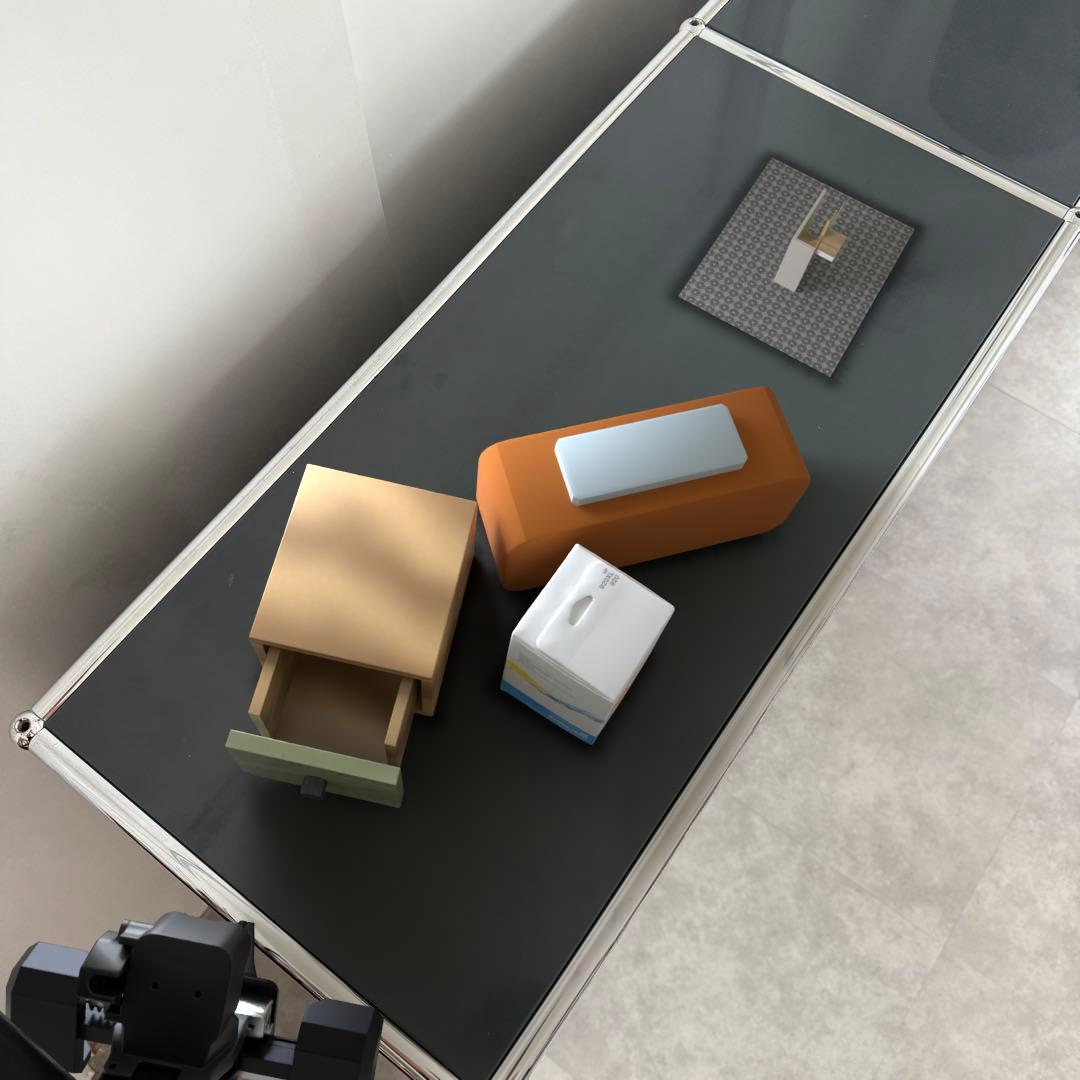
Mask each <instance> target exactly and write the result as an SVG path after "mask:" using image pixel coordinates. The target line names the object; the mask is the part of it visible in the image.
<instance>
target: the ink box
mask: <svg viewBox="0 0 1080 1080" xmlns="http://www.w3.org/2000/svg"><path fill="white" fill-rule="evenodd" d="M674 613H675V606H674V604H673V605H672V604H671V603H670V602H668V601H667V600H665V599H664V598H662V597H661V596H660V595H658V594H657V593H655V592H654V591H652V590H651V589H650V588H648V587H647V586H645V585H643V583H640V582H639V581H638V580H636V579H634V578H633V577H631V576H630V575H628V574H627V573H625V572H624V571H622V570H620V568H616V567H614V566H612V565H611V564H609V563H608V562H606V561H605V560H603V559H601V558H600V557H598V556H597V555H595V554H594V553H592V552H590V551H589V550H587V549H585V548H584V547H582V546H580V545H579V544H576V545H575V546H574V548H573V549H572V551H571V552H570V554H569V555H568V556H567V558H566V559H565V561H564V562H563V563H562V565H561V566H560V567H559V569H558V570H557V572H556V573H555V574H554V576H553V577H552V578H551V580H550V581H549V583H548V584H547V585H545V587H544V588H543V589H542V590H541V592H540V593H539V594H538V596H537V597H536V598H535V600H534V602H532V604H531V605H530V607H529V608H528V609H527V611H526V612H525V614H523V616H522V617H521V619H520V621H519V622H518V624H517V625H516V627H515V628H514V630H513V631H512V633H511V636H510V640H509V646H508V649H507V653H506V654H507V655H506V659H505V664H504V668H503V671H502V677H501V681H500V690H501V691H503V692H506V693H507V694H509V695H510V696H512V697H513V698H514V699H516V700H517V701H520V702H521V703H522V704H524V705H526V707H529V708H530V709H531V710H533V711H534V712H536V713H538V714H539V715H540V716H542V717H543V718H545V719H547V720H548V721H550V722H551V723H553V724H554V725H556V726H558V727H560V728H561V729H562V730H564V731H565V732H568V733H569V734H571V735H572V736H574V737H576V738H578V739H579V740H582V741H583V742H584V743H586V744H588V745H590V746H591V745H593V744H594V743H595V742H596V740H597V739H598V737H599V735H600V734H601V732H602V731H603V729H604V728H605V726H606V725H607V723H608V721H609V720H610V718H611V717H612V716H613V714H614V712H615V711H616V710H617V708H618V706H619V705H620V703H621V702H622V700H623V699H624V697H625V695H626V694H627V692H628V691H629V689H630V688H631V686H632V684H633V683H634V681H635V679H636V678H637V676H638V675H639V673H640V671H641V670H642V668H643V666H644V665H645V663H646V662H647V660H648V658H649V656H650V655H651V654H652V652H653V649H654V648H655V646H656V644H657V642H658V640H659V638H660V637H661V635H662V634H663V632H664V630H665V629H666V626H667V624H668V623H669V621H670V620H671V618H672V616H673V614H674Z"/></svg>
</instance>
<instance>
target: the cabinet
mask: <svg viewBox="0 0 1080 1080" xmlns="http://www.w3.org/2000/svg"><path fill="white" fill-rule="evenodd" d="M478 509H479V506H478V502H477V500H476V501H475V500H471V499H465V498H462V497H457V496H453V495H449V494H444V493H440V492H436V491H431V490H427V489H422V488H418V487H414V486H408V485H403V484H399V483H395V482H390V481H386V480H382V479H377V478H373V477H369V476H364V475H358V474H355V473H350V472H345V471H341V470H338V469H333V468H328V467H323V466H319V465H315V464H310V463H307V464H306V467H305V470H304V473H303V476H302V479H301V482H300V485H299V488H298V490H297V494H296V496H295V500H294V503H293V505H292V508H291V512H290V514H289V517H288V520H287V523H286V526H285V528H284V532H283V535H282V538H281V541H280V543H279V547H278V549H277V553H276V554H275V555H276V556H275V559H274V561H273V564H272V566H271V567H272V568H271V570H270V574H269V576H268V579H267V582H266V585H265V588H264V591H263V594H262V597H261V599H260V603H259V606H258V608H257V612H256V615H255V616H254V617H255V618H254V621H253V623H252V625H251V629H250V631H249V635H248V639H249V641H250V644H251V647H252V648H253V650H254V653H255V655H256V657H257V658H258V661H259V662H260V666H261V667H262V668H263V666H264V663H265V660H266V657H267V654H268V651H269V648H270V646H274V647H278V648H282V649H287V650H291V651H296V652H300V653H305V654H309V655H313V656H318V657H322V658H327V659H331V660H336V661H340V662H344V663H349V664H353V665H358V666H362V667H367V668H371V669H375V670H380V671H384V672H389V673H393V674H398V675H402V676H407V677H411V678H415V679H420V680H421V689H420V693H419V697H418V701H417V705H416V709H415V712H414V714H419V715H422V716H426V717H434V714H435V709H436V706H437V702H438V698H439V694H440V689H441V686H442V682H443V679H444V674H445V670H446V666H447V663H448V658H449V654H450V650H451V647H452V643H453V639H454V635H455V632H456V629H457V628H456V627H457V623H458V619H459V615H460V611H461V608H462V604H463V601H464V600H463V599H464V596H465V593H466V589H467V584H468V581H469V576H470V572H471V568H472V565H473V561H474V557H475V546H476V536H477V535H476V534H477V533H476V532H477V520H478Z"/></svg>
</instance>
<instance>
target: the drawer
mask: <svg viewBox="0 0 1080 1080" xmlns="http://www.w3.org/2000/svg"><path fill="white" fill-rule="evenodd" d="M420 689H421V680H420V679H415V678H411V677H407V676H402V675H398V674H393V673H389V672H384V671H380V670H375V669H371V668H367V667H362V666H358V665H353V664H349V663H344V662H340V661H336V660H331V659H327V658H322V657H318V656H313V655H309V654H305V653H300V652H296V651H291V650H287V649H282V648H278V647H274V646H270V648H269V651H268V654H267V657H266V660H265V663H264V666H263V667H262V670H261V672H260V675H259V678H258V681H257V684H256V688H255V691H254V693H253V696H252V699H251V703H250V706H249V708H248V712H247V714H248V716H249V718H250V719H251V721H252V723H253V724H254V726H255V728H256V729H257V731H258V733H259V735H257V734H253V733H248V732H245V731H239V730H234V729H230V730H229V734H228V736H227V740H226V742H225V746H224V747H225V749H226V750H227V752H228V753H229V754H230V755H231V757H232V758H233V759H234V761H235V763H236V764H237V765H238V767H239V768H240V769H241V771H242V772H243V773H244V774H247V775H251V776H257V777H261V778H265V779H269V780H274V781H278V782H283V783H287V784H290V785H291V784H292V785H296V786H300V787H301V788H300V791H299V794H300V795H301V796H303V797H305V798H308V799H313V800H319V801H321V800H323V799H324V797H325V793H332V794H336V795H340V796H345V797H348V798H353V799H358V800H362V801H366V802H371V803H375V804H379V805H383V806H384V805H385V806H389V807H394V808H397V809H400V808H401V805H402V803H403V797H404V793H405V791H404V784H403V777H402V776H403V775H402V770H401V767H402V766H401V765H402V762H403V758H404V755H405V750H406V746H407V742H408V739H409V735H410V731H411V727H412V725H413V720H414V715H415V713H414V712H415V709H416V705H417V701H418V697H419V693H420Z"/></svg>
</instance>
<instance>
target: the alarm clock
mask: <svg viewBox="0 0 1080 1080" xmlns="http://www.w3.org/2000/svg"><path fill="white" fill-rule="evenodd" d="M477 465H478V466H477V477H476V492H475V499H476V502H478V509H479V513H480V516H481V519H482V524H483V526H484V529H485V533H486V536H487V540H488V543H489V547H490V551H491V553H492V556H493V560H494V563H495V567H496V570H497V574H498V577H499V581H500V584H501V587H503V588H504V590H507V591H509V592H521V591H526V590H532V589H536V588H540V587H544V586H546V585H547V584H548V583H549V581H550V580H551V578H552V577H553V576H554V574H555V573H556V572H557V570H558V569H559V567H560V566H561V565H562V563H563V562H564V561H565V559H566V558H567V556H568V555H569V554H570V552H571V551H572V549H573V548H574V546H575V545H576V544H579V545H580V546H582V547H584V548H585V549H587V550H589V551H590V552H592V553H594V554H595V555H597V556H598V557H600V558H601V559H603V560H605V561H606V562H608V563H609V564H611V565H612V566H614V567H616V568H617V569H620V568H622V567H623V568H624V567H627V566H632V565H636V564H639V563H643V562H647V561H652V560H656V559H661V558H665V557H669V556H673V555H677V554H681V553H685V552H689V551H693V550H698V549H703V548H706V547H711V546H714V545H715V546H716V545H718V544H723V543H727V542H731V541H735V540H740V539H743V538H747V537H752V536H756V535H760V534H763V533H766V532H769V531H771V530H774V529H775V528H777V527H778V526H780V525H781V524H783V522H784V521H786V520H787V519H788V517H789V515H790V514H791V513H792V511H793V509H795V507H796V505H797V504H798V502H799V501H800V500H801V498H802V496H803V495H804V493H805V492H806V490H808V488H809V486H810V482H811V476H810V473H809V471H808V469H807V466H806V463H805V462H804V460H803V457H802V453H801V452H800V450H799V448H798V445H797V443H796V441H795V437H794V436H793V433H792V431H791V429H790V426H789V424H788V422H787V419H786V417H785V415H784V412H783V410H782V408H781V405H780V403H779V400H778V398H777V396H776V394H775V392H774V390H772V389H771V388H770V387H767V386H754V387H749V388H744V389H739V390H735V391H730V392H725V393H721V394H716V395H712V396H708V397H707V396H706V397H703V398H698V399H694V400H688V401H684V402H678V403H674V404H670V405H665V406H660V407H655V408H651V409H646V410H641V411H636V412H633V413H632V412H631V413H627V414H623V415H618V416H617V415H616V416H613V417H609V418H604V419H599V420H593V421H590V422H585V423H581V424H576V425H571V426H566V427H561V428H557V429H556V428H555V429H553V430H547V431H543V432H538V433H533V434H528V435H524V436H520V437H515V438H509V439H506V440H502V441H499V442H496V443H494V444H492V445H490V446H488V447H487V448H486V449H484V450H483V451H482V452H481V453H480V456H479V458H478V463H477Z"/></svg>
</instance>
